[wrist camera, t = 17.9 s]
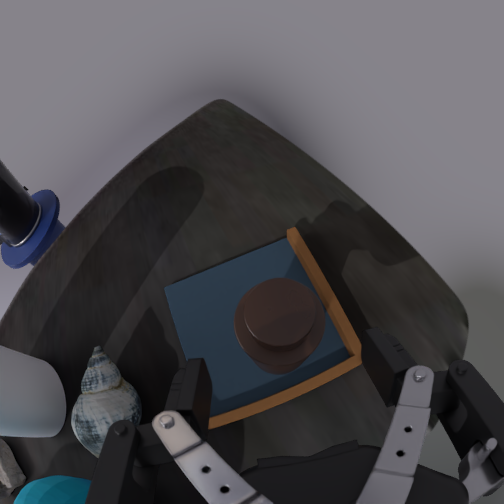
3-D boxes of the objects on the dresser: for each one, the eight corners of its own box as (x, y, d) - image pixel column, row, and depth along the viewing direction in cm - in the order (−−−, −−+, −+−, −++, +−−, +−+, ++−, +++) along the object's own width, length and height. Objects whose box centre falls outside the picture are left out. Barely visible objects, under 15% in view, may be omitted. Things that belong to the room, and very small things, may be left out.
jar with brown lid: (263, 383, 22) (251, 380, 12) (241, 332, 25) (213, 286, 14) (316, 359, 23) (350, 333, 12) (292, 311, 25) (303, 248, 15)
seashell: (94, 437, 22) (136, 360, 26) (124, 480, 17) (175, 396, 21) (48, 423, 17) (90, 337, 22) (70, 473, 13) (120, 376, 17)
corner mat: (215, 426, 21) (208, 429, 19) (167, 290, 28) (158, 281, 26) (361, 362, 23) (369, 359, 21) (294, 238, 30) (295, 226, 28)
